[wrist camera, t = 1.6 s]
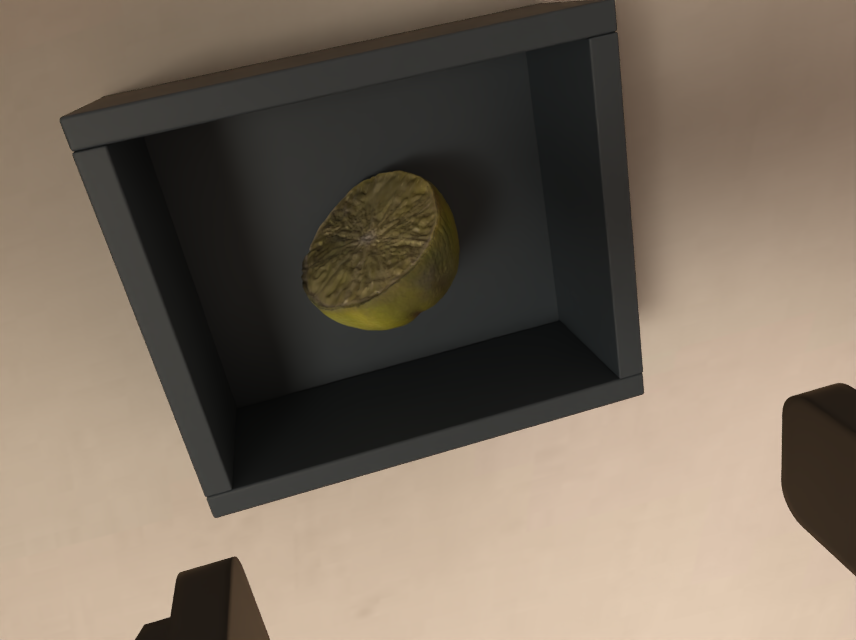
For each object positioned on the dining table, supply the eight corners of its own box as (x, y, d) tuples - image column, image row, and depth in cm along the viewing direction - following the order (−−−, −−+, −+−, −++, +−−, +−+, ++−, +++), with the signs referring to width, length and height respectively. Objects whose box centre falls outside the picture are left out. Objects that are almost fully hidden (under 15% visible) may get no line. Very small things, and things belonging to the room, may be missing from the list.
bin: (102, 96, 21) (57, 117, 16) (540, 3, 23) (616, -3, 18) (221, 428, 26) (214, 519, 21) (577, 330, 28) (645, 395, 23)
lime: (292, 289, 24) (301, 349, 20) (319, 144, 23) (335, 175, 18) (419, 308, 26) (455, 369, 21) (453, 173, 24) (499, 207, 20)
